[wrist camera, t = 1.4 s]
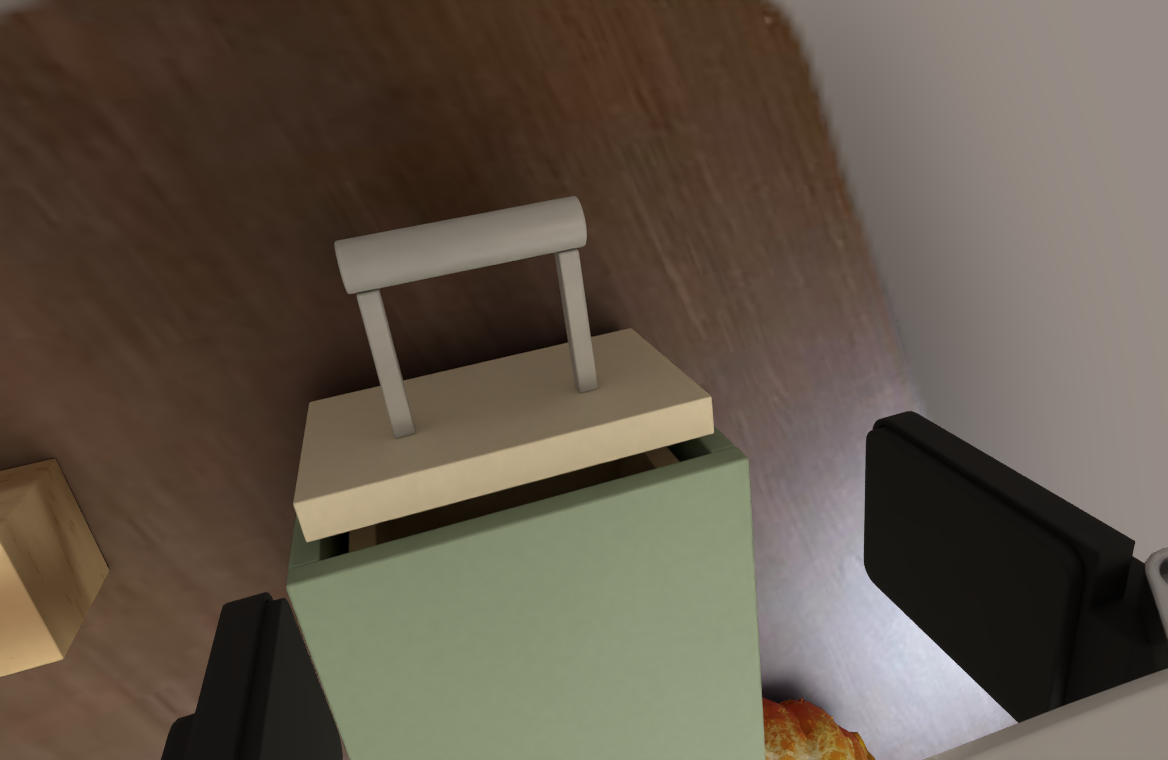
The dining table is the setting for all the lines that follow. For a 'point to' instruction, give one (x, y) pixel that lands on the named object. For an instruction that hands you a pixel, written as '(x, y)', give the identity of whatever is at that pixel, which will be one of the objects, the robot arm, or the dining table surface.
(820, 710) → the fruit
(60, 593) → the block
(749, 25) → the dining table surface
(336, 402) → the drawer
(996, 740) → the robot arm
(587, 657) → the cabinet
